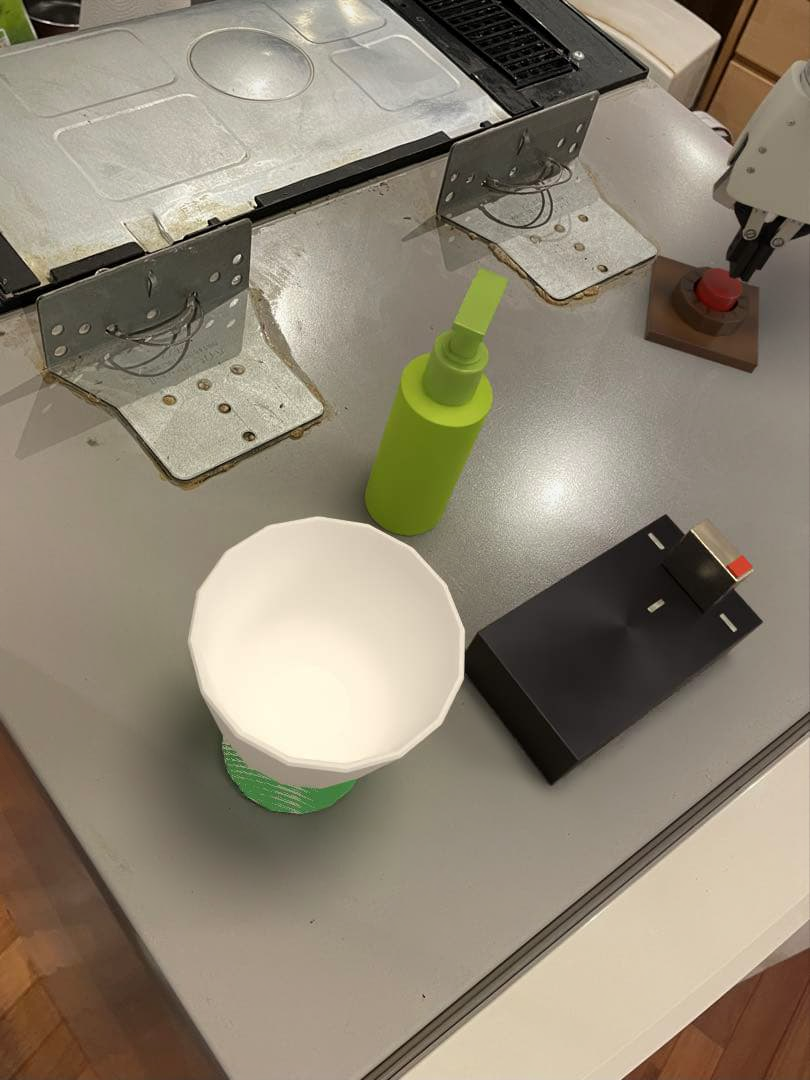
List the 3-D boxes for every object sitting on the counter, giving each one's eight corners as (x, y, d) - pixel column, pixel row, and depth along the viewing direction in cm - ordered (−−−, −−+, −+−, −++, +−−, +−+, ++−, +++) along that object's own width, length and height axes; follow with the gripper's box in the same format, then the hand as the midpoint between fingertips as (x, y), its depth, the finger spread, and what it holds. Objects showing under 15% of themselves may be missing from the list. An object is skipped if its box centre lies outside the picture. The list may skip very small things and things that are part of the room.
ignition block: (652, 263, 92) (666, 239, 89) (753, 296, 92) (769, 272, 90) (644, 340, 86) (658, 316, 84) (751, 373, 87) (768, 351, 84)
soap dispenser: (457, 477, 74) (543, 286, 58) (428, 548, 71) (510, 366, 54) (386, 446, 75) (450, 247, 58) (352, 515, 71) (411, 324, 54)
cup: (417, 844, 60) (490, 760, 47) (185, 866, 56) (192, 783, 43) (387, 637, 66) (444, 513, 53) (178, 646, 63) (183, 515, 50)
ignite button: (695, 277, 88) (704, 262, 87) (733, 289, 88) (743, 275, 87) (693, 305, 86) (703, 290, 85) (732, 317, 86) (742, 303, 85)
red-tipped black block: (660, 562, 68) (691, 527, 64) (677, 551, 69) (709, 515, 65) (704, 613, 67) (739, 580, 63) (721, 601, 67) (756, 568, 64)
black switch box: (654, 537, 75) (684, 501, 71) (744, 639, 72) (782, 608, 68) (456, 663, 67) (477, 630, 62) (550, 786, 63) (579, 760, 59)
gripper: (956, 76, 71) (819, 264, 87) (761, 14, 71) (658, 215, 86) (966, 139, 67) (821, 324, 83) (759, 74, 67) (651, 273, 82)
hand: (738, 268), depth 84 cm, fingers closed
